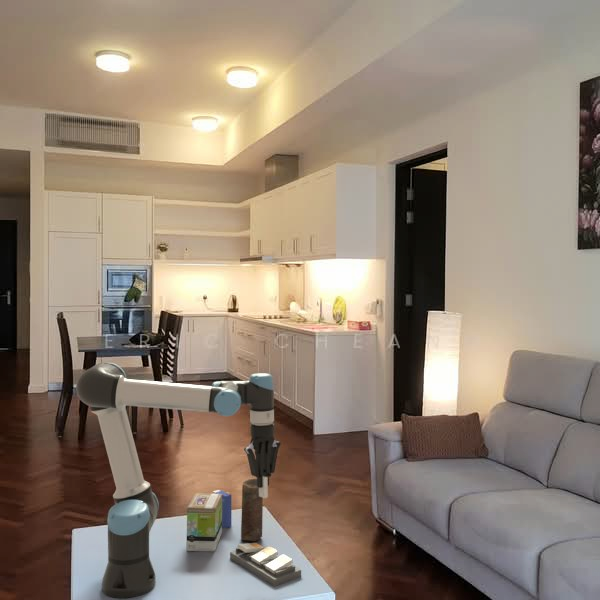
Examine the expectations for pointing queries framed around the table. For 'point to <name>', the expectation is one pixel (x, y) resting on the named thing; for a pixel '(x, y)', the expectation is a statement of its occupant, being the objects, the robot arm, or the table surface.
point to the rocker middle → (264, 555)
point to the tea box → (204, 522)
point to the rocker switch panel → (261, 571)
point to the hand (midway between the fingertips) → (263, 496)
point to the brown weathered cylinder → (251, 511)
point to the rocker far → (250, 547)
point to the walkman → (225, 508)
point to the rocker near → (278, 563)
